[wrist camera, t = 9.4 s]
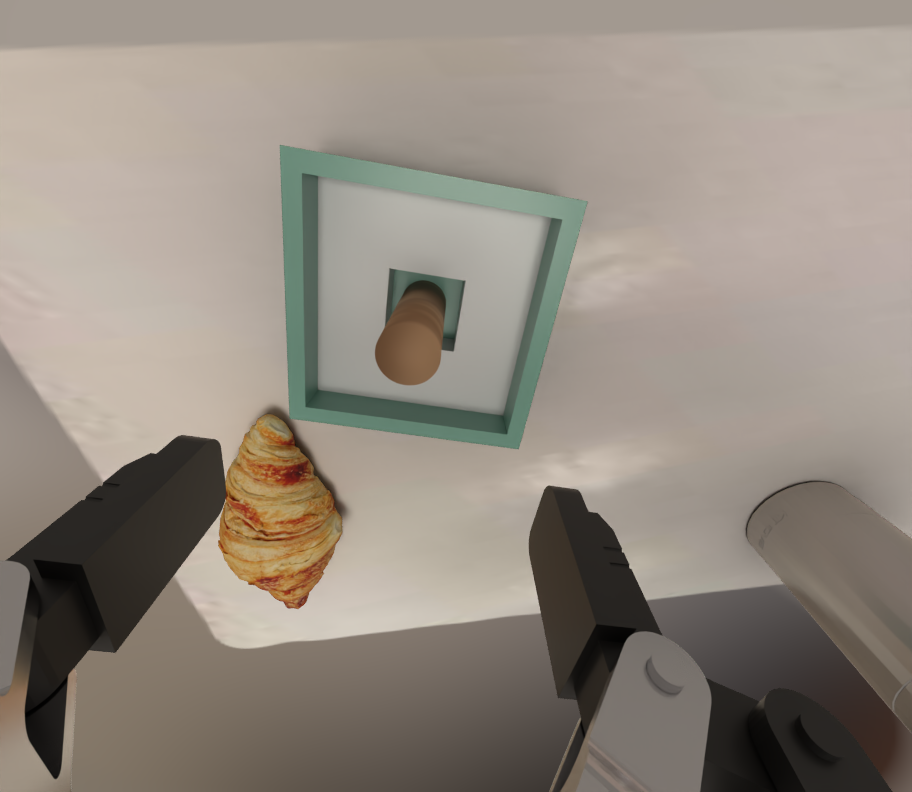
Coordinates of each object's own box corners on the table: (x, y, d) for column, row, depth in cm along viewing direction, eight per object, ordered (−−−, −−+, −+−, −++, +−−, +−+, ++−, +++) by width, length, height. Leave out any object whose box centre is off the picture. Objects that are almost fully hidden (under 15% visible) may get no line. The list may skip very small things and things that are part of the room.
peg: (449, 284, 26) (445, 329, 17) (442, 327, 28) (436, 389, 19) (404, 277, 26) (377, 318, 17) (399, 320, 27) (372, 380, 18)
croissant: (258, 386, 35) (161, 424, 28) (345, 415, 31) (255, 468, 24) (291, 559, 44) (223, 617, 37) (362, 599, 40) (299, 673, 33)
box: (559, 200, 25) (587, 201, 20) (507, 406, 32) (518, 449, 26) (319, 156, 24) (280, 145, 18) (318, 379, 30) (289, 418, 25)
